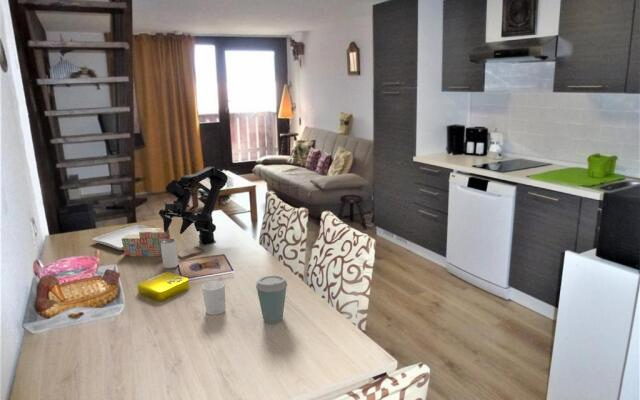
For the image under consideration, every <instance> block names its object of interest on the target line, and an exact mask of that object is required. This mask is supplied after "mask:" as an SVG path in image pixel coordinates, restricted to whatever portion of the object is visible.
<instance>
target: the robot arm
mask: <svg viewBox="0 0 640 400" xmlns="http://www.w3.org/2000/svg"><path fill="white" fill-rule="evenodd" d="M228 178H229V177H228V176H227V173H225V172H224V171H221V170H219V169H218V168H217V167H215V166H207V167H205V168H203V169H201V170H199V171H198V172H195V173H193V174H187V175H183V176H182V175H181V177H180V179H178V180H177V179H172V180H171V182H169V183H168V184H167V185H166V187H165V192H167V194H169V195H171V196H173V197H174V198H176V200H174V201H173V202H172V203H169V202H167V203H164V209H163V208H161V209H160V210H159V212H158V215H159V217H160V218H162V220H163V221H162V222H163V228H164V232H166V231H167V230H168V228H169V229H170V225H171V223H172V222H173V218H174V217H175V218H181V219H182V220H181V221H182V223H181V227H180V230H179V234H180V235H182V234H183V233H184V232H185V231H186V230H187V229H188V228H189V227H190V226H191V225H192V224H193V225H194V228H195V231H196V232H199V234H198V240H199V241H198V243H200V244H201V245H204V246H207V245H209V244H213V243H216V242H217V240H215V235H214V232H215V231H216V230H217V225H215V223H213V222H214V219H213V216H212V215H213V211H214V209H215V207H216V206H215V205H216V203H217V200H218V196H219V194H220V191H221V190H222V189H223V188H224V187H225V186H226V184H227V182H228ZM206 179H208V180H209V184H210V188H209V191H208V194H207V196H206V200H205V201H204V202H205V203H204V205H203V208H202V210H201V212H197V213H194V212H192V211H187V209H189V208H190V206H191V205H189V204H190V200H191V197H193V196H195V193H194V191H193V190H194V189H196V187H198V186H199V184H200V182H203V181H204V180H206Z"/></svg>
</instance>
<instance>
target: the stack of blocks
mask: <svg viewBox="0 0 640 400" xmlns="http://www.w3.org/2000/svg"><path fill="white" fill-rule="evenodd" d="M170 234H171V233H170V227H169V228H168V230H167V231H166V232H164V227H150V228H144V229H143V230H142V231H140V232H139V234H127V235H126V236H125V237H123V238H122V244H123V250H122V251H123V253H124V254H123V255H124V257H162V251H161V243H162V242H161V241H163V240H165V239H171V235H170Z"/></svg>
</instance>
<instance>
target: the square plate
mask: <svg viewBox="0 0 640 400" xmlns="http://www.w3.org/2000/svg"><path fill="white" fill-rule="evenodd" d="M144 228H151V227H150V226H146V225H140V224H134V225H132V226H127V227H124V228H121V229H117V230H113V231H111V232H108V233H104V234H103V235H99V236H95V237H93V238H92V239H91V240H92V241H93V242H95V243H97V244H101V245H104V246H107V247H110V248H113V249H116V250H118V251H124V250H123V244H122V238H123V237H125V236H126V235H127V234H139V232H140V231H142V230H143V229H144Z"/></svg>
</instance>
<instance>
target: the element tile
mask: <svg viewBox="0 0 640 400" xmlns="http://www.w3.org/2000/svg"><path fill="white" fill-rule="evenodd" d="M190 288H191V287H190V280H189V278H188V277H185V276H182V275H179V274H176V273H173V272H170V271H165V272H162V273H160V274H158V275H155V276H154V277H150V278H148V279H146V280H143V281H140V282H139V283H137V291H138V295H140V296H142V297H145V298H147V299H150V300H151V301H154V302H158V303H159V302H164V301H167V300H169V299H171V298H173V297H175V296H178V295H179V294H181V293H184V292H185V291H188V290H189V289H190Z"/></svg>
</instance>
